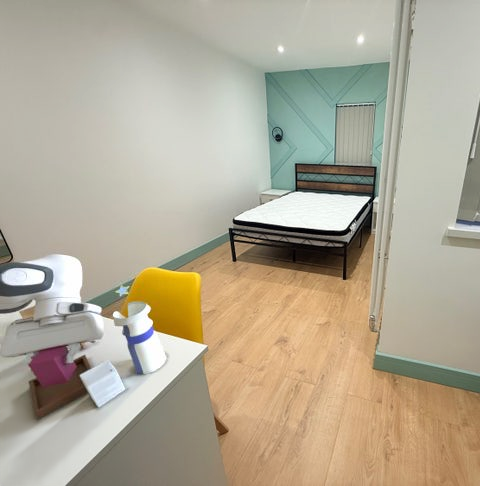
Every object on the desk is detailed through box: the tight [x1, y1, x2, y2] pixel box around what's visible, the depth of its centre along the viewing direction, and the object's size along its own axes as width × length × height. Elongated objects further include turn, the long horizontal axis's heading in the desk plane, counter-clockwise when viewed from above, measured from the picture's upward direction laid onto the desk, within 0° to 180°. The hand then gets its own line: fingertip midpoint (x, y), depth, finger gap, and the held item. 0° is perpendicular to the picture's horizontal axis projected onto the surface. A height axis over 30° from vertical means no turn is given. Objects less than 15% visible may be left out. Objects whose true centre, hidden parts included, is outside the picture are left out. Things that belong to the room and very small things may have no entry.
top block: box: [27, 345, 77, 388], centre depth 67 cm, size 5×5×8 cm
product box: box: [79, 359, 126, 408], centre depth 66 cm, size 6×6×7 cm
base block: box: [18, 305, 35, 319], centre depth 91 cm, size 5×5×6 cm
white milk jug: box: [112, 284, 167, 375], centre depth 71 cm, size 8×9×25 cm
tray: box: [28, 354, 93, 420], centre depth 69 cm, size 14×12×2 cm
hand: (52, 367), depth 66 cm, fingers closed on top block, 5 cm apart
